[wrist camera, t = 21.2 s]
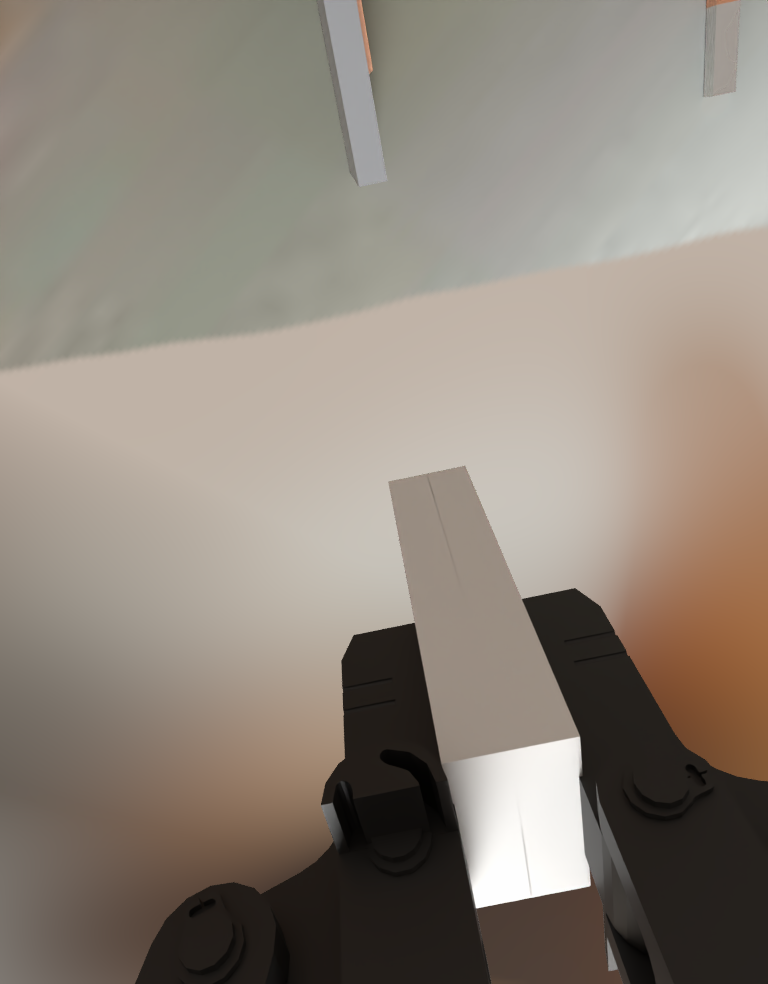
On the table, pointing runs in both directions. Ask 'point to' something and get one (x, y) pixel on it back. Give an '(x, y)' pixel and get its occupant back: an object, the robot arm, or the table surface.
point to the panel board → (353, 87)
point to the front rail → (721, 46)
